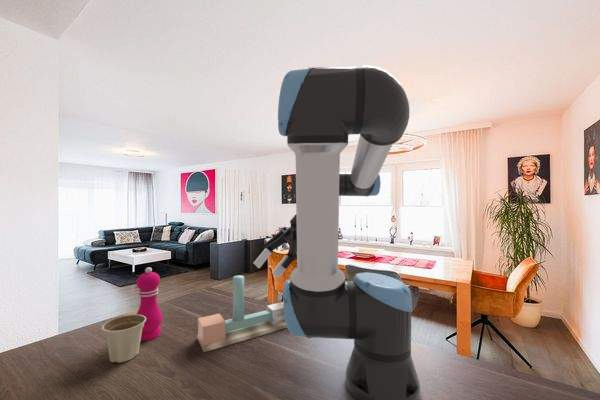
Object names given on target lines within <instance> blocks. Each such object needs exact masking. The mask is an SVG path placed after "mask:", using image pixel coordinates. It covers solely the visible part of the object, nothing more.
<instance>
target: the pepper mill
mask: <svg viewBox="0 0 600 400" xmlns="http://www.w3.org/2000/svg"><path fill="white" fill-rule="evenodd" d="M160 283H161V277H160V275H159V273H156V272H154V271H153V269H152V267H149V266H148V267H146V268H145V269H144V273H141V274H140V275H139V276H138V277H137V279H136V286H137V288H138V289H139V290H138V296H139V298H140V303H139V307H138V311H137V313H136V314H135V315H143V316H145V317H146V321H145V323H144V326H143V328H142V334H141V340H140V342H145V341H150V340H154V339H156V338H157V337H159V336H160V335H161V333H162V327H161V324H162V322H163V314H162V311H161V308H160V307H159V305H158V302H157V300H158V299H157V295H158V293H159V288H158V286H159V285H160Z"/></svg>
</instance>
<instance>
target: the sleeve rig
mask: <svg viewBox="0 0 600 400" xmlns="http://www.w3.org/2000/svg"><path fill="white" fill-rule="evenodd" d="M283 303H284V301H281V302H277V303H272V304H269V305H267V304H266V310H270V311H272V320H271V321H267V322H263V323H259V324H256V325H252V326H248V327H245V328H241V329H237V330H233V331H230V332H226V333H225V340H222V341H219V342H215V343H211V344H208V345H204V346H203V345H202V343H201V341H200V339H199V337H198V333H197V337H196V338H197V341H198V343H199V345H200V348H201V350H202V352H203V353H206V352H210V351H212V350H213V351H214V350H216V349H219V348H223V347H227V346H230V345H233V344H236V343H240V342H243V341H247V340H250V339H254V338H258V337H260V336H264V335H268V334H270V333H274V332H277V331H281V330H284V329H287V326H286V322H285V317H284V309H283Z"/></svg>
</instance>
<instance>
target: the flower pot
mask: <svg viewBox="0 0 600 400" xmlns="http://www.w3.org/2000/svg"><path fill="white" fill-rule="evenodd" d="M145 321H146V317H145V316H143V315H136V314H126V315H122V316H118V317H115V318H112V319H109V320H108V321H106V322H105V323H104V324H102V326H101V330H102V331H103V333H104V336H105V338H106V344H107V350H108V352H107V353H108V356H109V361H110V363H118V364H119V363H125V362H128V361H131V360H132V359H134V358H135V357H136V356H137V355H139V352H140V345H141V341H140V340H141V334H142V328H143V326H144V323H145Z"/></svg>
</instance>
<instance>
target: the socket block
mask: <svg viewBox="0 0 600 400" xmlns="http://www.w3.org/2000/svg"><path fill="white" fill-rule="evenodd" d="M225 320H226V319H224V317H223V316H222V315H221V313H215V314H211V315H207V316H203V317H198V318H197V334H198V337H199V339H200V341H201V343H202V345H203V346H204V345H208V344H211V343H215V342H219V341H222V340H225Z"/></svg>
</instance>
